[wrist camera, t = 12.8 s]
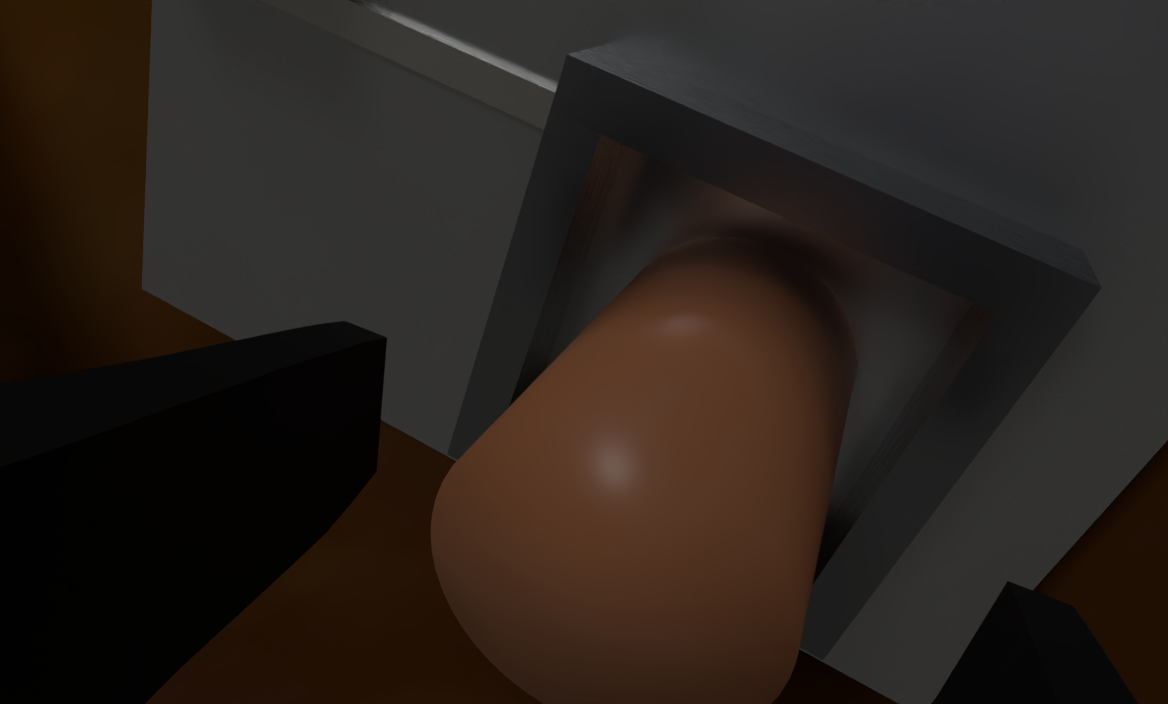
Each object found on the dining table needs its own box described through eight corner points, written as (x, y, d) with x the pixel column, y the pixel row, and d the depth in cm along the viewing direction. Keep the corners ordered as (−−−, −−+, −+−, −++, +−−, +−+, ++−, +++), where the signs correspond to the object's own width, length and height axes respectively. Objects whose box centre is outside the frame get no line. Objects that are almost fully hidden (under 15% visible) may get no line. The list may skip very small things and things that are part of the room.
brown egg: (912, 378, 12) (894, 661, 7) (722, 499, 15) (607, 782, 10) (735, 184, 12) (591, 340, 7) (569, 336, 14) (368, 537, 9)
